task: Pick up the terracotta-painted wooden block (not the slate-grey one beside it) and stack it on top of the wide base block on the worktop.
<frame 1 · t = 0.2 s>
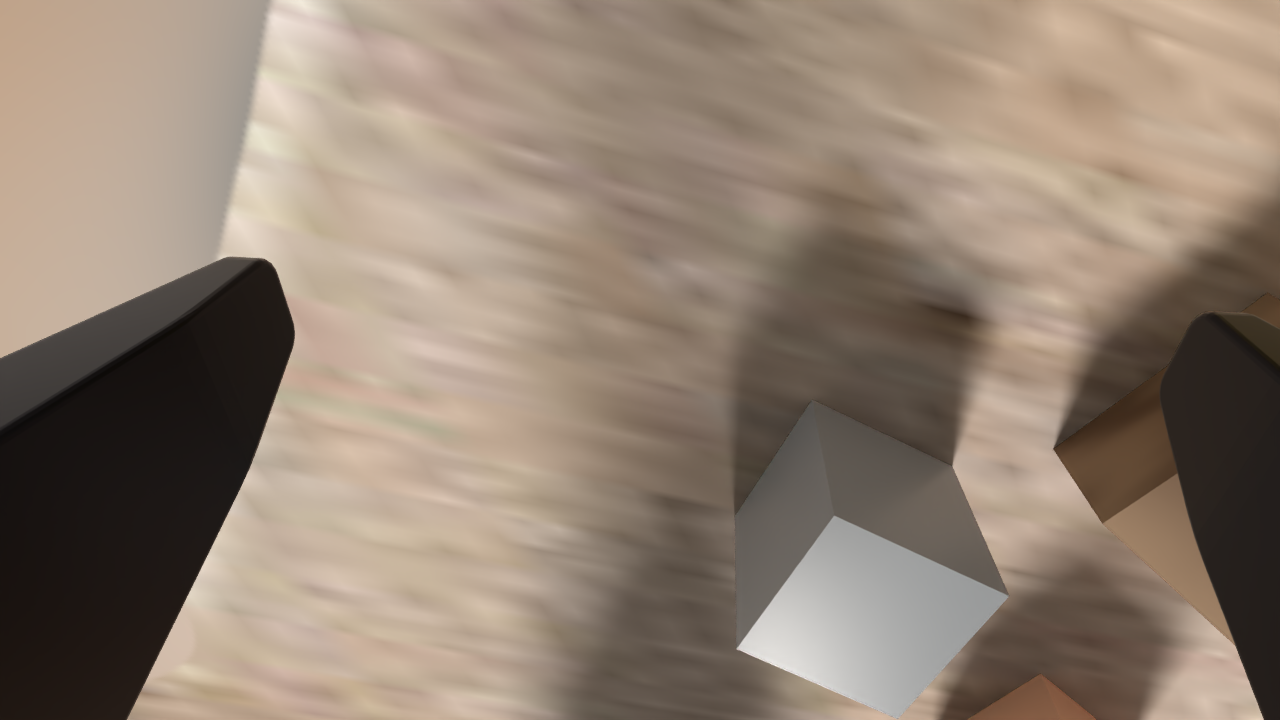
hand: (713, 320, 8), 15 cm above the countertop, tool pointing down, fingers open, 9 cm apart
grey block: (840, 491, 27), on the countertop
base block: (1222, 443, 25), on the countertop
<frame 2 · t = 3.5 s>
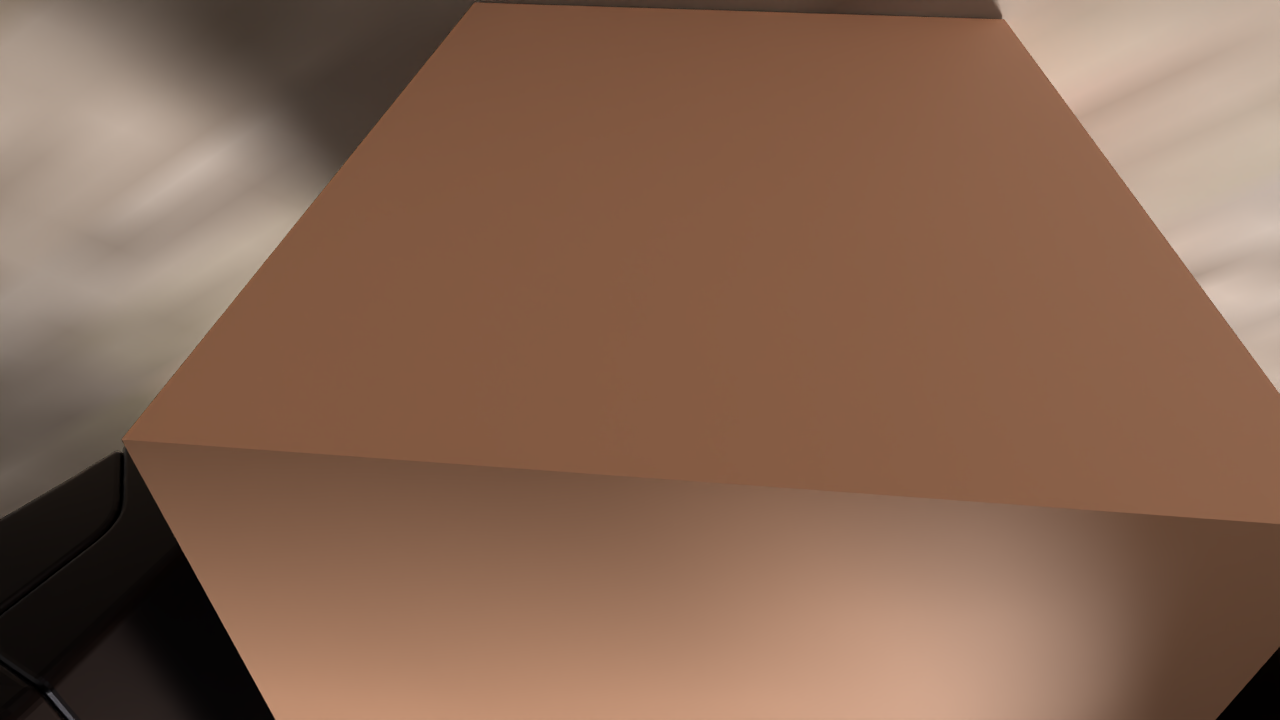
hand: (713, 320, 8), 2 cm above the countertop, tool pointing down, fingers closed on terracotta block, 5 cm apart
terracotta block: (717, 238, 10), on the countertop, touching gripper
when the fingers open (7 cm above the countertop, at t = 6.9 s): terracotta block drops 1 cm, point 4 cm above the countertop.
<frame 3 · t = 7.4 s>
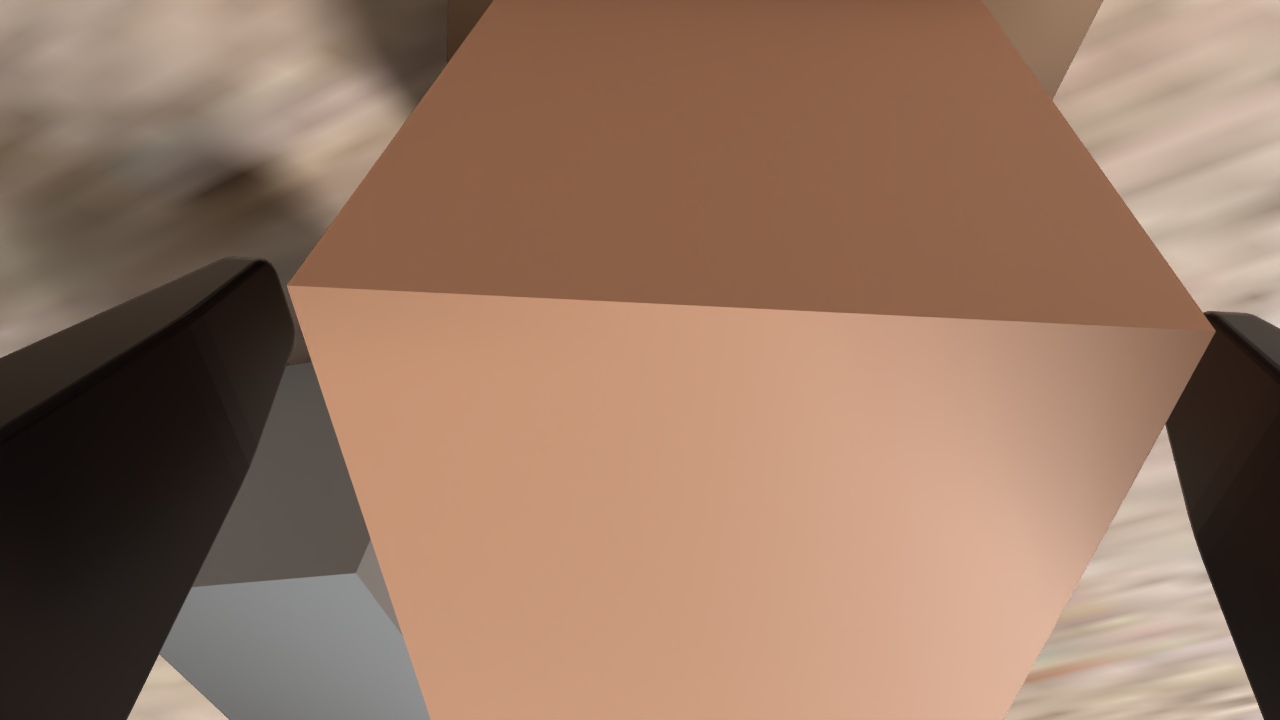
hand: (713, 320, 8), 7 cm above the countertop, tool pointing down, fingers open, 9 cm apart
grey block: (401, 435, 20), on the countertop
base block: (725, 60, 14), on the countertop
terracotta block: (722, 189, 11), point 4 cm above the countertop
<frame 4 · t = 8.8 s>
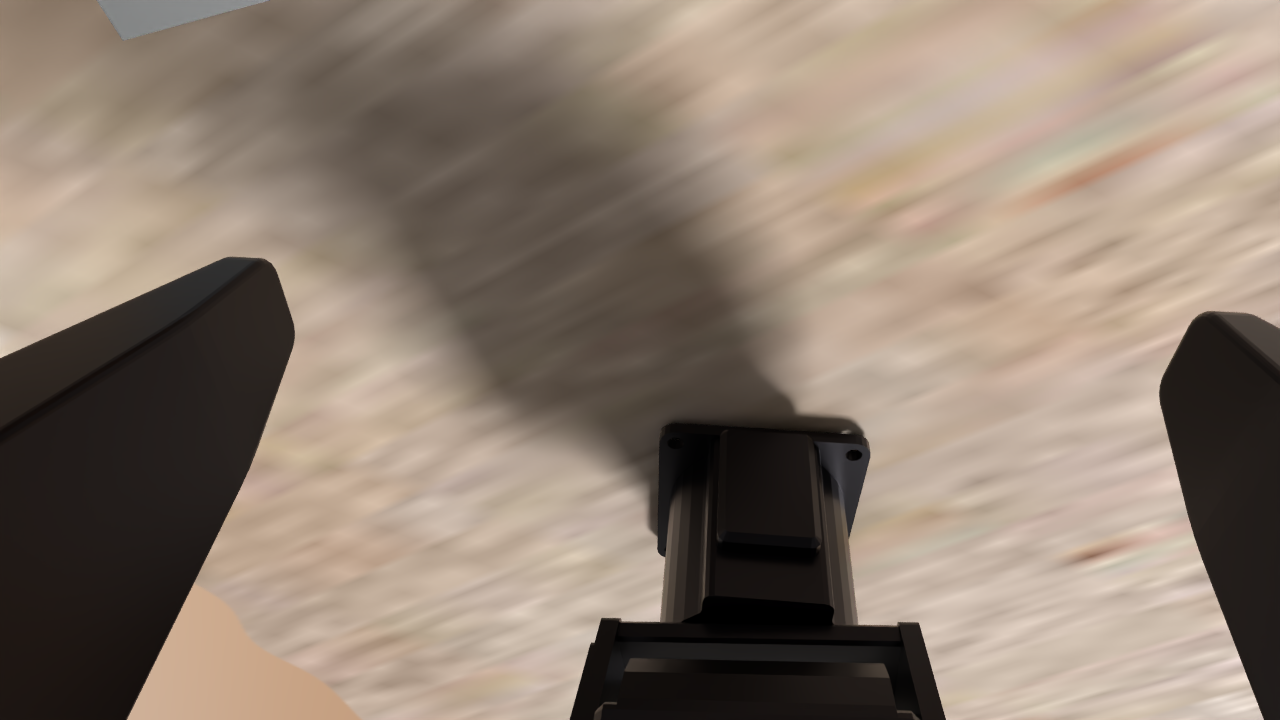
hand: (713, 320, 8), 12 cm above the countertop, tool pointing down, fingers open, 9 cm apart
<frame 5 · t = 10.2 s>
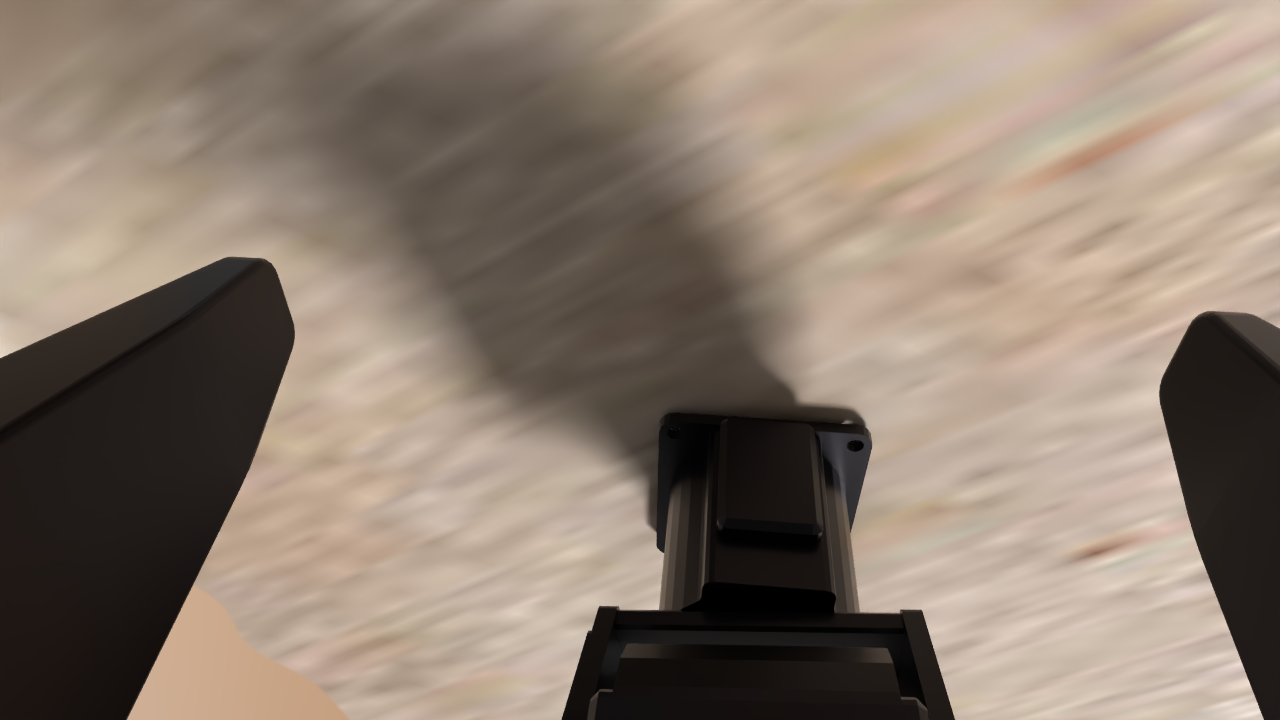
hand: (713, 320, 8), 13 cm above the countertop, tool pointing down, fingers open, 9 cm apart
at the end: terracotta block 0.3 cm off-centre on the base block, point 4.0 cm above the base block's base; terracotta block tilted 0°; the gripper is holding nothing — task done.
